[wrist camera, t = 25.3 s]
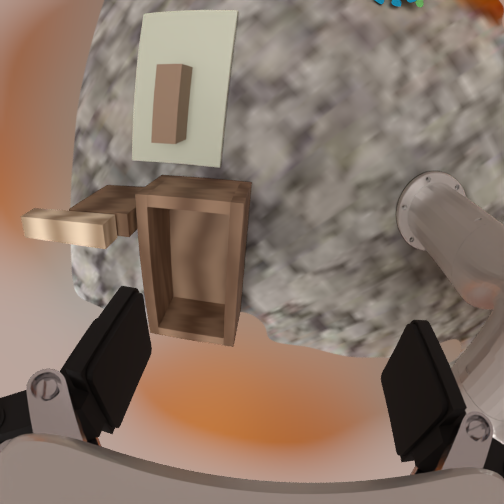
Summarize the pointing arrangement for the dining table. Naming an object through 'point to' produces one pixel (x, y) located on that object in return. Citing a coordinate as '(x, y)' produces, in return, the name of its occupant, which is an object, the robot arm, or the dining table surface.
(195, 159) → the lid
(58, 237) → the bar
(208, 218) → the brown wooden box
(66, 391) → the robot arm
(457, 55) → the dining table surface
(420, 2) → the blue spiky virus toy
